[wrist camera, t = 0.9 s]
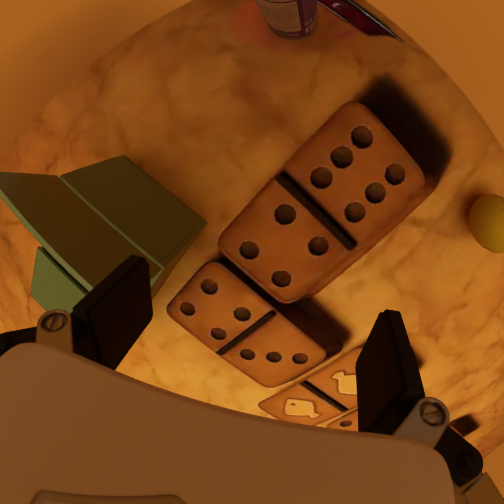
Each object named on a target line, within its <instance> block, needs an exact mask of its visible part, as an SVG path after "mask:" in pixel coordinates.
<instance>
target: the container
mask: <svg viewBox="0 0 504 504" xmlns="http://www.w3.org/2000/svg"><path fill="white" fill-rule="evenodd" d="M255 1H256V3H257V5H258V6H259V8H260V10H261V12H262V14H263V15H264V17H265V19H266V21H267V23H268V25H269V26H270V28H271V30H272V31H273V32H274V33H275V34H276V35H278V36H280V37H282V38H285V39H290V40H296V39H301V38H304V37H306V36H308V35H309V34H311V33H312V31H313V30H314V28H315V26H316V20H317V0H255Z"/></svg>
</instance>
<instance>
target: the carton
mask: <svg viewBox="0 0 504 504" xmlns="http://www.w3.org/2000/svg"><path fill="white" fill-rule="evenodd" d="M60 179H61V180H62V181H63V182H64V183H65V184H66V185H67V186H68V187H69V188H70V189H71V190H72V191H73V192H74V193H75V194H77V195H78V196H79V197H80V198H81V199H82V200H83V201H84V202H85V203H86V204H87V205H88V206H90V207H91V208H92V209H93V210H94V211H95V212H96V213H97V214H98V215H100V216H101V217H102V218H103V219H104V220H105V221H106V222H107V223H108V224H110V225H111V226H112V227H113V228H114V229H115V230H116V231H118V232H119V233H120V234H121V235H122V236H123V237H125V238H126V239H127V240H128V241H129V242H130V243H132V244H133V245H134V246H135V247H136V248H138V249H139V250H140V251H141V252H142V253H144V254H145V255H146V256H147V257H148V258H150V259H151V260H152V261H153V262H154V263H156V264H157V265H158V266H159V267H161V268H162V270H161V271H160V272H159V273H158V274H157V275H156V276H155V277H154V278H153V279H151V280H150V284H151V297H152V299H153V298H154V296H155V295H156V293H157V292H158V291H159V289H160V288H161V286H162V285H163V283H164V282H165V280H166V279H167V278H168V276H169V275H170V273H171V272H172V271H173V269H174V268H175V266H176V265H177V263H178V262H179V261H180V259H181V258H182V257H183V255H184V254H185V252H186V251H187V250H188V248H189V247H190V245H191V244H192V243H193V241H194V240H195V239H196V237H197V236H198V235H199V233H200V232H201V231H202V229H203V228H204V226H205V225H206V224H207V222H206V221H205V220H204V219H202V218H201V217H200V216H199V215H197V214H196V213H195V212H194V211H192V210H191V209H190V208H189V207H187V206H186V205H185V204H184V203H182V202H181V201H180V200H179V199H177V198H176V197H175V196H174V195H172V194H171V193H170V192H169V191H167V190H166V189H165V188H164V187H162V186H161V185H160V184H159V183H157V182H156V181H155V180H154V179H152V178H151V177H150V176H149V175H147V174H146V173H145V172H144V171H142V170H141V169H140V168H139V167H137V166H136V165H135V164H134V163H132V162H131V161H130V160H129V159H128V158H126V157H125V156H124V155H122V156H119V157H115V158H112V159H108V160H105V161H102V162H99V163H96V164H92V165H89V166H86V167H83V168H80V169H77V170H74V171H72V172H69V173H66V174H63V175H61V176H60ZM88 293H89V291H88V290H87V289H86V288H85V287H84V286H83V285H82V284H80V283H79V282H78V281H77V280H76V279H75V278H74V277H73V276H72V275H71V274H70V273H69V272H68V271H67V270H66V269H65V268H64V267H63V266H62V265H61V264H60V263H59V262H58V261H57V260H56V259H55V258H54V257H53V256H52V255H51V254H50V253H49V252H48V251H47V250H46V249H45V248H44V247H43V246H42V247H40V246H39V247H38V248H37V253H36V259H35V265H34V271H33V278H32V286H31V296H32V297H33V298H34V299H35V300H36V301H37V302H38V303H39V304H40V305H41V306H42V307H43V308H44V309H45V310H46V311H47V312H48V311H50V310H53V309H62V310H65V311H67V312H68V313H69V314H70V313H71V312H72V311H73V309H72V308H73V307H74V306H75V305H76V304H77V303H78V302H79V301H80V300H81V299H82V298H83V297H84V296H85V295H87V294H88Z"/></svg>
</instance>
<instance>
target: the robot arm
mask: <svg viewBox="0 0 504 504" xmlns="http://www.w3.org/2000/svg"><path fill="white" fill-rule="evenodd" d="M72 309H73V311H72V312H71V313H70V314H69V313H68V312H67V311H65V310H62V309H53V310H50V311H48V312H46V313H44V314H43V315H42V316H41V317H40V318H39V320H38V323H37V327H32V328H26V329H21V330H16V331H10V332H5V333H2V334H0V504H504V498H503V497H502V495H501V494H500V492H499V490H498V489H497V487H496V486H495V484H494V483H493V481H492V480H491V478H490V477H489V475H488V474H487V472H485V473H484V474H483V473H482V468H483V459H482V456H481V454H480V452H479V451H478V450H477V449H476V448H475V447H473V446H472V445H471V444H470V443H469V442H467V441H466V440H465V439H464V438H462V437H461V436H460V435H459V434H458V433H456V432H455V431H454V430H453V429H451V428H450V427H449V426H448V422H449V412H448V409H447V407H446V406H445V404H444V403H442V402H441V401H440V400H438V399H436V398H433V397H425V393H424V389H423V384H422V380H421V377H420V373H419V369H418V365H417V362H416V358H415V354H414V351H413V349H412V347H411V346H410V342H409V339H408V335H407V332H406V329H405V326H404V323H403V320H402V316H401V313H400V312H399V311H394V310H388V309H386V310H385V311H384V312H380V313H379V315H378V317H377V320H376V322H375V324H374V326H373V328H372V330H371V333H370V335H369V337H368V339H367V341H366V343H365V345H364V347H363V349H362V351H361V353H360V355H359V357H358V359H357V362H356V382H357V402H358V431H348V430H340V429H332V428H325V427H317V426H310V425H304V424H297V423H292V422H286V421H281V420H275V419H270V418H265V417H261V416H256V415H252V414H247V413H243V412H239V411H235V410H231V409H227V408H223V407H219V406H216V405H212V404H209V403H205V402H202V401H198V400H195V399H192V398H189V397H185V396H182V395H179V394H176V393H173V392H170V391H167V390H164V389H161V388H158V387H156V386H153V385H150V384H147V383H145V382H142V381H140V380H137V379H134V378H132V377H129V376H127V375H124V374H122V373H120V372H117V371H115V369H116V368H117V367H118V365H119V364H120V362H121V361H122V360H123V358H124V357H125V355H126V354H127V353H128V351H129V350H130V348H131V347H132V346H133V344H134V343H135V342H136V340H137V339H138V337H139V336H140V335H141V333H142V332H143V331H144V329H145V328H146V327H147V325H148V324H149V323H150V321H151V319H152V316H153V309H152V297H151V284H150V269H149V263H148V262H146V259H145V258H144V257H141V256H137V255H130V256H129V257H128V258H127V259H126V260H125V261H123V262H122V263H121V264H120V265H119V266H118V267H116V268H115V269H114V270H113V271H112V272H111V273H110V274H109V275H107V276H106V277H105V278H104V279H103V280H102V281H101V282H100V283H99V284H97V285H96V286H95V287H94V288H93V289H92V290H91V291H90V292H89V293H88V294H87V295H85V296H84V297H83V298H82V299H81V300H80V301H79V302H78V303H77V304H76V305H75V306H74V307H73V308H72Z"/></svg>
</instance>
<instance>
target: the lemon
mask: <svg viewBox="0 0 504 504" xmlns="http://www.w3.org/2000/svg"><path fill="white" fill-rule="evenodd" d="M469 226H470V230H471V232H472V234H473V236H474V238H475V239H476V241H477V242H478V243H479V244H480V245H481V246H482V247H484V248H485V249H487V250H489V251H492V252H495V253H504V198H503V197H501V196H498V195H495V194H486V195H483V196H481V197H479V198H478V199H476V201H475V202H474V203H473V205H472V206H471V209H470V212H469Z"/></svg>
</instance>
